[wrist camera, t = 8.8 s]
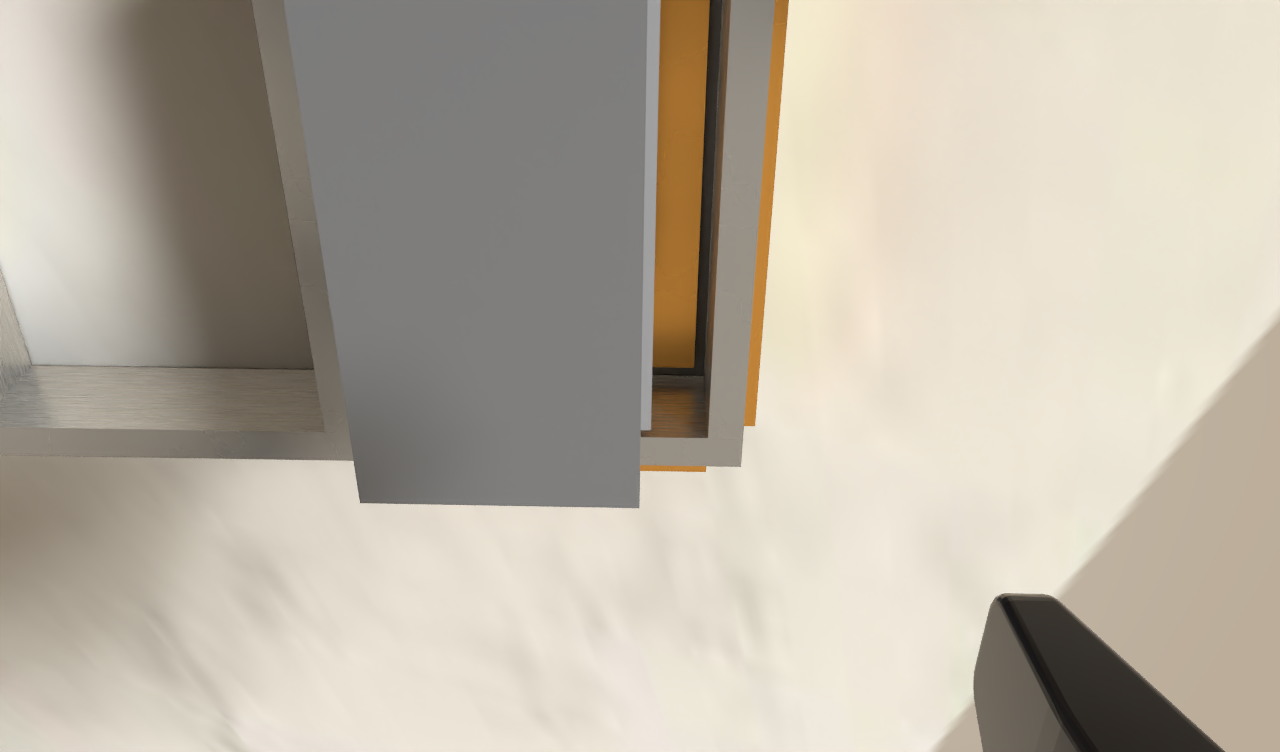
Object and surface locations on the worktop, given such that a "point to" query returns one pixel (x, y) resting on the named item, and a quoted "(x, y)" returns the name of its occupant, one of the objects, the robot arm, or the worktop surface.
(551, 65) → the grey rectangular cuboid
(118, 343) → the worktop surface
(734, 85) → the tray
